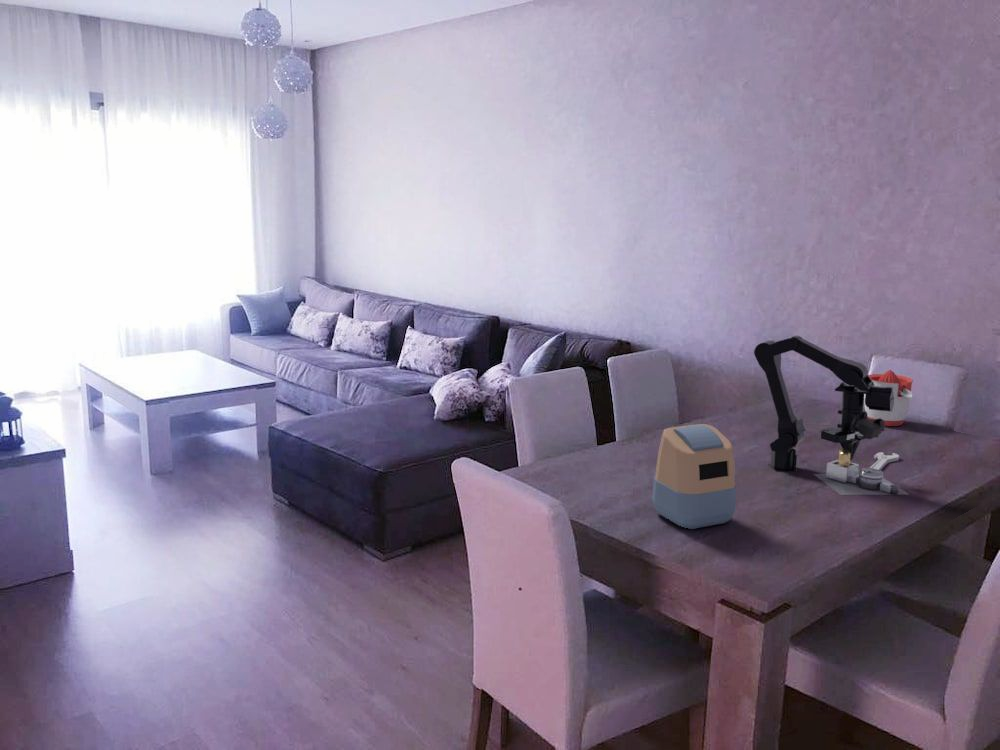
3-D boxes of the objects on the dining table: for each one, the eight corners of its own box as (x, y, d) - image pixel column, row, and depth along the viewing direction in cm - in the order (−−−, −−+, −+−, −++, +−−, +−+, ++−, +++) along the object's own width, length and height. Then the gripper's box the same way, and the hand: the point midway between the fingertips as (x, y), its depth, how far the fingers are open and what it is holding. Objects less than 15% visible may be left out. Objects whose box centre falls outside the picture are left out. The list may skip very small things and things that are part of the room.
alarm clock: (685, 535, 193) (689, 441, 188) (645, 511, 208) (649, 425, 203) (740, 524, 199) (746, 434, 194) (698, 503, 214) (703, 418, 210)
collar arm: (903, 491, 221) (905, 476, 220) (891, 495, 218) (893, 480, 217) (837, 473, 237) (839, 459, 236) (825, 477, 233) (827, 463, 232)
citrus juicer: (889, 431, 285) (895, 376, 281) (852, 419, 301) (857, 367, 297) (922, 427, 291) (928, 373, 287) (884, 416, 307) (889, 364, 303)
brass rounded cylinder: (845, 477, 231) (846, 458, 227) (835, 472, 233) (835, 453, 229) (851, 471, 232) (852, 452, 228) (841, 467, 234) (842, 447, 230)
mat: (840, 495, 220) (840, 494, 220) (813, 474, 237) (813, 474, 237) (909, 495, 220) (909, 494, 220) (876, 474, 238) (876, 473, 238)
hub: (864, 492, 223) (865, 474, 222) (853, 484, 229) (855, 467, 228) (885, 491, 223) (887, 474, 222) (875, 484, 229) (876, 467, 228)
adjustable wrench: (874, 478, 236) (874, 473, 235) (851, 474, 240) (852, 468, 240) (900, 459, 254) (901, 454, 253) (879, 455, 258) (880, 450, 258)
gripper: (854, 418, 217) (850, 473, 220) (899, 408, 225) (896, 461, 228) (820, 409, 227) (817, 462, 230) (865, 400, 235) (862, 452, 238)
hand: (849, 460), depth 231 cm, fingers closed
